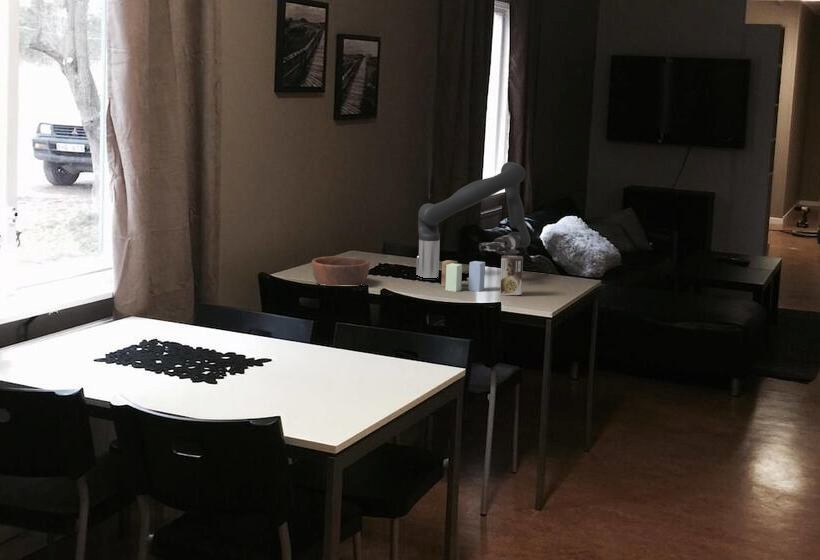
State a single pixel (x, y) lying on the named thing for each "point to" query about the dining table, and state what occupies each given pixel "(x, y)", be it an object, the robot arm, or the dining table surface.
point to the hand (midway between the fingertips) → (489, 249)
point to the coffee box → (511, 274)
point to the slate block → (476, 276)
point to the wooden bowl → (340, 270)
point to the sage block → (453, 277)
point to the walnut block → (444, 263)
